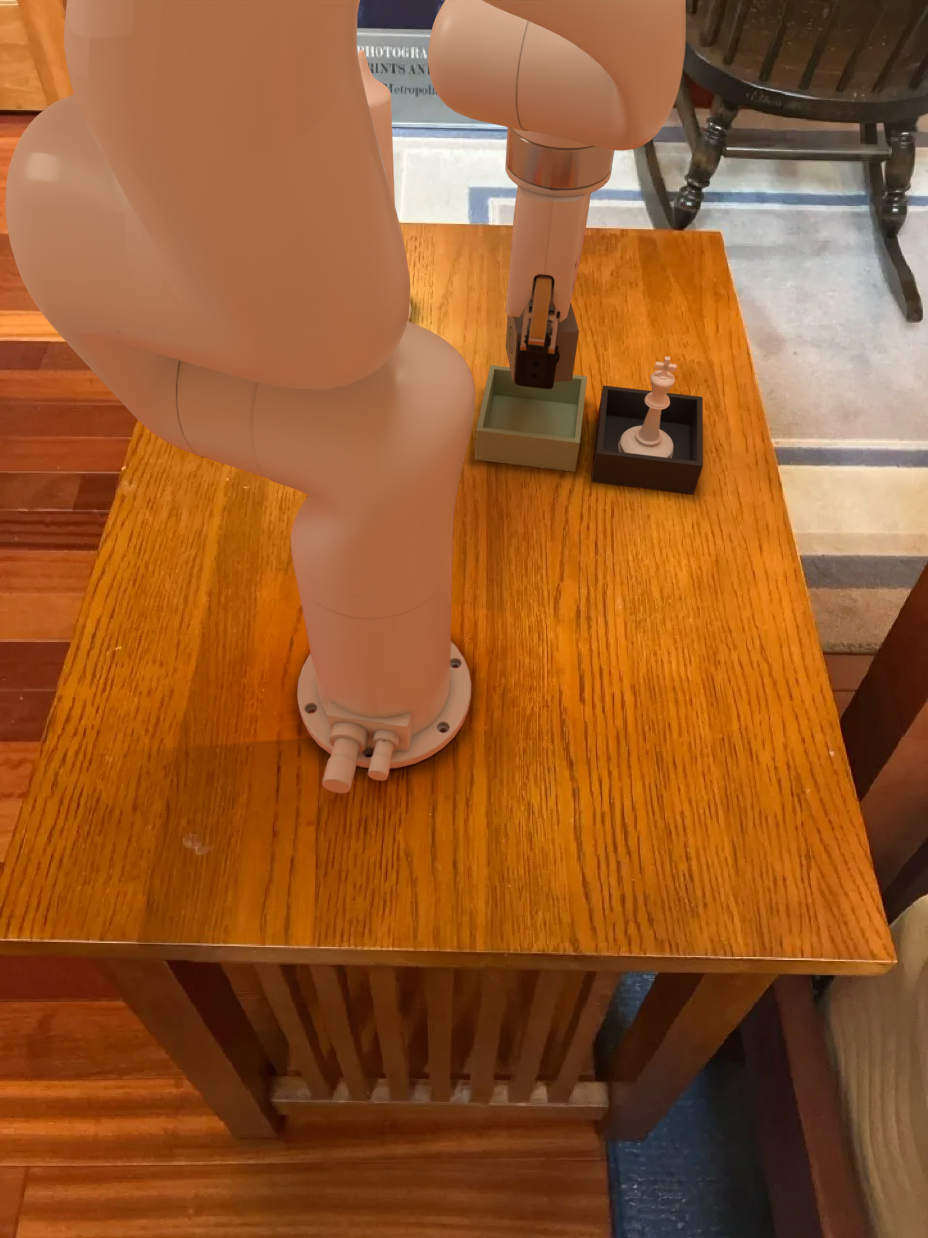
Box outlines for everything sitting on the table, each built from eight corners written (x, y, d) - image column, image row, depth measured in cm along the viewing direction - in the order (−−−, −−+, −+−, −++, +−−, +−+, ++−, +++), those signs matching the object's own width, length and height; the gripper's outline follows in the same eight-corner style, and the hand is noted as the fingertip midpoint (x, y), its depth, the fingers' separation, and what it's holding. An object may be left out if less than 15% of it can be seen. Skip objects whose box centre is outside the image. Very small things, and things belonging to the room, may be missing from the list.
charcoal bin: (693, 494, 81) (703, 465, 78) (591, 482, 82) (596, 452, 79) (694, 426, 87) (702, 396, 84) (597, 414, 87) (603, 384, 84)
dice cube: (505, 346, 81) (508, 296, 77) (562, 343, 81) (568, 293, 77) (513, 383, 78) (517, 333, 74) (571, 381, 78) (578, 331, 74)
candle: (409, 336, 94) (402, 70, 74) (339, 333, 94) (312, 67, 74) (413, 294, 98) (407, 32, 78) (346, 292, 98) (322, 29, 78)
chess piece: (670, 472, 82) (696, 381, 74) (615, 463, 83) (634, 372, 75) (674, 435, 85) (699, 344, 77) (621, 426, 86) (640, 335, 78)
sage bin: (575, 472, 83) (579, 442, 80) (474, 459, 83) (476, 430, 80) (582, 405, 88) (587, 375, 85) (488, 394, 89) (490, 364, 86)
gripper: (520, 86, 70) (507, 295, 85) (490, 210, 60) (480, 422, 75) (620, 95, 70) (589, 304, 84) (606, 221, 59) (574, 433, 74)
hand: (538, 358), depth 79 cm, fingers closed on dice cube, 5 cm apart
